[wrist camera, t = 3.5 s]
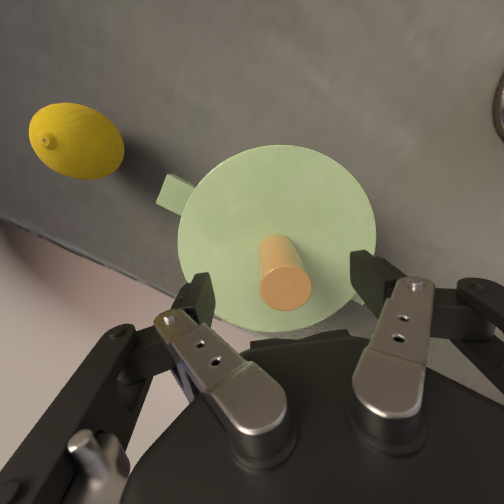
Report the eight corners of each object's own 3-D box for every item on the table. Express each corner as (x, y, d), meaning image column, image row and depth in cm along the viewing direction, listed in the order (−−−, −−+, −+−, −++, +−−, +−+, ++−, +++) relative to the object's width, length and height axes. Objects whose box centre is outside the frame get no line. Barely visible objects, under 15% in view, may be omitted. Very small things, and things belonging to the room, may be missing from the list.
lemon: (118, 187, 25) (60, 200, 17) (69, 146, 23) (-17, 140, 16) (150, 145, 23) (103, 139, 16) (100, 98, 22) (22, 68, 15)
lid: (232, 102, 16) (219, 65, 9) (409, 207, 18) (492, 234, 12) (155, 281, 20) (112, 336, 14) (304, 346, 23) (324, 418, 17)
